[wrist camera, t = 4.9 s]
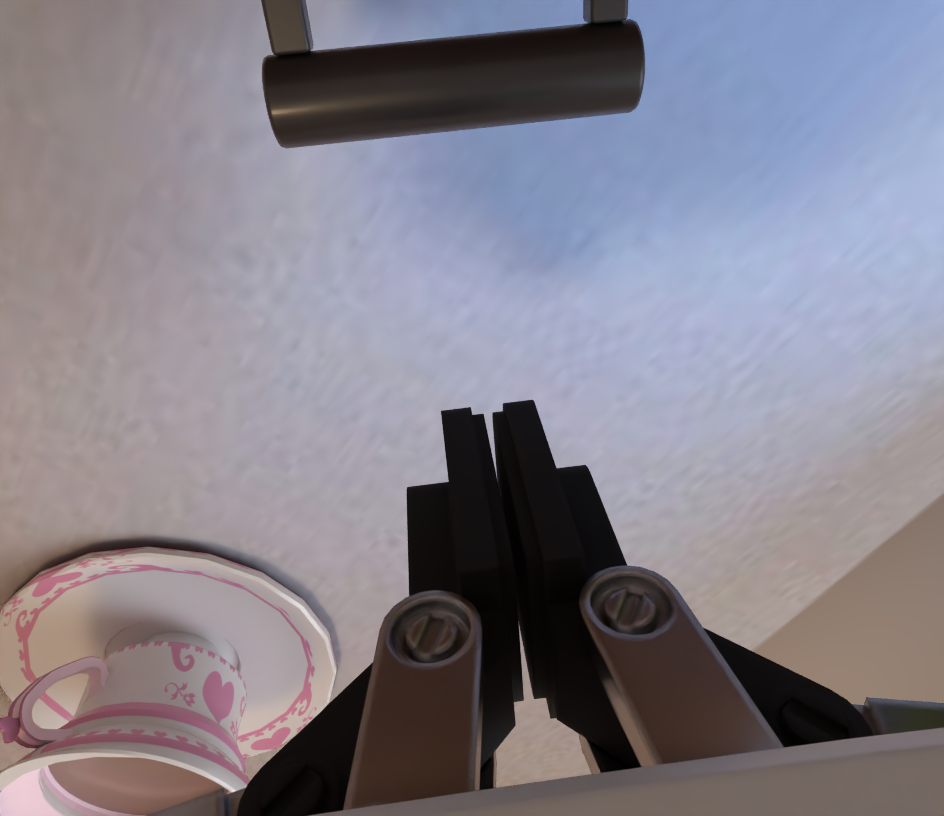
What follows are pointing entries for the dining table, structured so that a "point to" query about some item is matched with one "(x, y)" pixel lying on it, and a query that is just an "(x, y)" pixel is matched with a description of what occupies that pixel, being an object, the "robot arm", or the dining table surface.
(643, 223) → the dining table surface
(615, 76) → the drawer
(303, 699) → the teacup
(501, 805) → the robot arm
